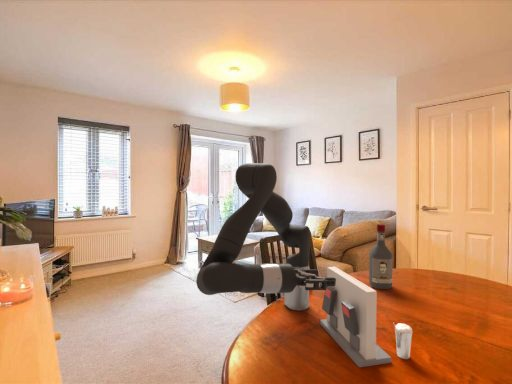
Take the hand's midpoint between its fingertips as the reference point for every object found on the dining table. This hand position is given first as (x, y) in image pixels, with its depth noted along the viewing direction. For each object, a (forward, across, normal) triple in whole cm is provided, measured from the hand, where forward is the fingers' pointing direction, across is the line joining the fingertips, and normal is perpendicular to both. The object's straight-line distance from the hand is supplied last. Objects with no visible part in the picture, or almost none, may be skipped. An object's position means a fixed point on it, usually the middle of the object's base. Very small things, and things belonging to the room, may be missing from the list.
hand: (325, 277), depth 82 cm
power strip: (+15, +6, +22) cm, 27 cm away
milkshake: (+24, -6, +22) cm, 33 cm away
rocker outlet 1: (+11, +13, +15) cm, 23 cm away
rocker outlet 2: (+10, 0, +16) cm, 19 cm away
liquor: (+62, +39, +16) cm, 75 cm away
